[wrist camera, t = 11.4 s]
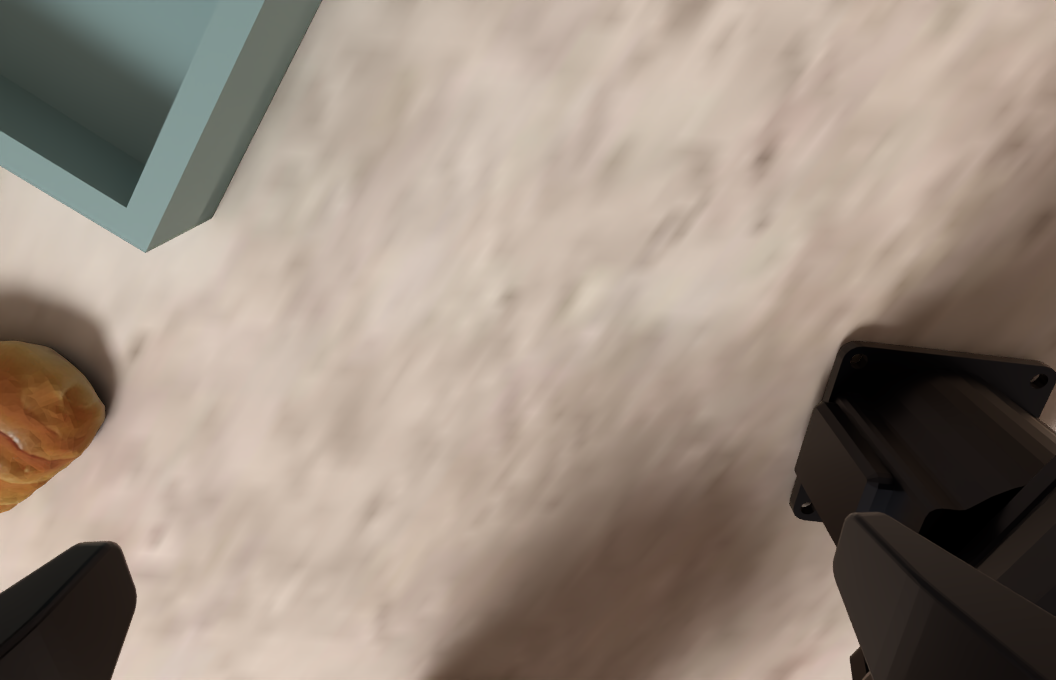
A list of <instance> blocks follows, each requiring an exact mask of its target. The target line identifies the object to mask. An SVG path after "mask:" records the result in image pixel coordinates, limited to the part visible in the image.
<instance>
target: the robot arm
mask: <svg viewBox="0 0 1056 680" xmlns="http://www.w3.org/2000/svg"><path fill="white" fill-rule="evenodd" d="M856 354H862V357H861V359H860V360H859V361H857V362H856V363H850V360H851V359H852V357H853V356H855V355H856ZM1038 374H1039V377H1038V378H1037V379H1036V380H1035V381H1033V382H1031V379H1032V378H1033V377H1034V376H1036V375H1038ZM1055 383H1056V372H1055V371H1054V370H1053V369H1052V368H1050V367H1049V366H1047V365H1046V364H1044V363H1043V362H1040V361H1035V360H1026V359H1017V358H1008V357H999V356H990V355H981V354H972V353H963V352H954V351H945V350H936V349H927V348H918V347H909V346H900V345H891V344H882V343H873V342H864V341H851V342H849V343H847V344H845V345H844V346H843V347H841V348H840V350H839V352H838V354H837V356H836V359H835V362H834V366H833V369H832V372H831V375H830V378H829V381H828V384H827V387H826V390H825V393H824V396H823V399H822V402H820V403H819V404H818V405H817V406H816V407H814V410H813V413H812V416H811V419H810V422H809V425H808V428H807V432H806V435H805V438H804V441H803V444H802V447H801V450H800V453H799V456H798V459H797V463H796V466H795V473H796V475H797V479H796V482H795V485H794V488H793V491H792V494H791V497H790V503H789V504H790V506H791V508H792V510H793V512H794V514H795V516H796V517H798V518H799V519H802V520H808V521H817V522H823V523H824V525H825V527H826V529H827V531H828V532H829V534H830V536H831V538H832V540H833V541H834V543H835V545H836V547H837V548H836V552H835V556H834V560H833V573H834V577H835V581H836V583H837V586H838V589H839V591H840V594H841V597H842V599H843V602H844V605H845V607H846V610H847V613H848V615H849V618H850V621H851V623H852V626H853V628H854V631H855V634H856V636H857V639H858V642H859V644H860V647H859V648H858V649H857V650H856V651H855V652H854V653H853V654H852V655H851V656H850V664H851V672H852V679H853V680H1056V432H1055V431H1053V430H1052V429H1051V428H1050V427H1048V426H1047V425H1046V424H1045V423H1043V422H1042V421H1041V420H1039V419H1038V418H1039V416H1040V414H1041V412H1042V410H1043V408H1044V406H1045V404H1046V402H1047V400H1048V398H1049V396H1050V394H1051V392H1052V390H1053V387H1054V385H1055ZM806 502H811V504H810V505H808V506H806V507H801V506H802V505H803V504H804V503H806ZM136 601H137V594H136V588H135V585H134V582H133V580H132V577H131V574H130V571H129V568H128V566H127V563H126V560H125V557H124V554H123V552H122V549H121V547H120V546H119V545H118V544H117V543H115V542H111V541H100V542H83V543H78V544H76V545H74V546H72V547H71V548H69V549H68V550H66V551H65V552H63V553H61V554H60V555H58V556H57V557H55V558H54V559H52V560H51V561H49V562H48V563H46V564H45V565H43V566H42V567H40V568H38V569H37V570H35V571H34V572H32V573H31V574H29V575H28V576H26V577H25V578H23V579H22V580H20V581H19V582H17V583H16V584H14V585H12V586H11V587H9V588H8V589H6V590H5V591H3V592H2V593H0V680H111V678H112V675H113V672H114V669H115V666H116V664H117V661H118V658H119V655H120V652H121V649H122V646H123V643H124V641H125V638H126V635H127V632H128V629H129V626H130V623H131V620H132V617H133V615H134V611H135V608H136Z"/></svg>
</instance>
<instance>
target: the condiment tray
mask: <svg viewBox="0 0 1056 680" xmlns="http://www.w3.org/2000/svg"><path fill="white" fill-rule="evenodd" d="M321 1H322V0H0V166H1V167H3V168H5V169H6V170H8V171H10V172H11V173H13V174H15V175H16V176H18V177H20V178H21V179H23V180H25V181H26V182H28V183H30V184H31V185H33V186H35V187H36V188H38V189H40V190H41V191H43V192H45V193H46V194H48V195H50V196H51V197H53V198H55V199H56V200H58V201H60V202H61V203H63V204H65V205H66V206H68V207H70V208H71V209H73V210H75V211H76V212H78V213H80V214H81V215H83V216H85V217H86V218H88V219H90V220H91V221H93V222H95V223H96V224H98V225H100V226H101V227H103V228H105V229H106V230H108V231H110V232H111V233H113V234H115V235H116V236H118V237H120V238H121V239H123V240H125V241H126V242H128V243H130V244H131V245H133V246H135V247H136V248H138V249H140V250H141V251H143V252H145V253H146V252H148V251H150V250H152V249H154V248H156V247H158V246H160V245H161V244H163V243H165V242H167V241H169V240H171V239H173V238H175V237H177V236H179V235H181V234H183V233H184V232H186V231H188V230H190V229H192V228H194V227H196V226H198V225H200V224H202V223H204V222H206V221H207V220H209V219H211V218H212V217H213V215H214V213H215V211H216V209H217V207H218V205H219V203H220V201H221V199H222V197H223V195H224V193H225V191H226V189H227V187H228V185H229V183H230V181H231V179H232V177H233V175H234V173H235V171H236V169H237V167H238V165H239V163H240V161H241V159H242V157H243V155H244V153H245V151H246V149H247V147H248V145H249V143H250V141H251V139H252V137H253V136H254V134H255V132H256V130H257V128H258V126H259V124H260V122H261V120H262V118H263V116H264V114H265V112H266V110H267V108H268V106H269V104H270V102H271V100H272V98H273V96H274V94H275V92H276V90H277V88H278V86H279V84H280V82H281V80H282V78H283V76H284V74H285V72H286V70H287V68H288V66H289V64H290V62H291V60H292V58H293V56H294V54H295V52H296V50H297V48H298V47H299V45H300V43H301V41H302V39H303V37H304V35H305V33H306V31H307V29H308V27H309V25H310V23H311V21H312V19H313V17H314V15H315V13H316V11H317V9H318V7H319V5H320V3H321Z"/></svg>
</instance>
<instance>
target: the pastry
mask: <svg viewBox="0 0 1056 680" xmlns="http://www.w3.org/2000/svg"><path fill="white" fill-rule="evenodd" d="M104 419H105V406H104V404H103V403H102V402H101V401H100V399H99V398H98V396H97V394H96V393H95V391H94V389H93V387H92V386H91V384H90V383H89V381H88V380H87V379H86V377H85V376H84V375H83V374H82V373H81V372H80V371H79V370H78V369H77V368H76V367H75V366H73V365H72V364H71V363H70V362H69V361H68V360H66V359H65V358H64V357H63V356H61V355H60V354H59V353H57V352H56V351H55V350H53V349H51V348H49V347H47V346H42V345H37V344H30V343H25V342H21V341H0V513H2V512H5V511H8V510H10V509H12V508H13V507H14V506H16V505H17V504H18V503H20V502H22V501H23V500H25V499H26V498H28V497H29V496H30V495H31V494H32V493H33V492H34V491H35V490H36V489H38V488H40V487H41V486H43V485H44V484H45V483H46V482H48V481H49V480H50V479H51V478H52V477H53V476H54V475H56V474H57V473H58V472H59V471H61V470H63V469H64V468H66V467H67V466H68V465H69V464H70V463H71V462H72V461H73V460H75V459H76V458H77V457H79V456H80V455H81V454H82V453H83V451H84V450H85V449H86V448H87V447H88V446H89V445H90V443H91V442H92V440H93V438H94V436H95V435H96V433H97V431H98V429H99V428H100V426H101V425H102V423H103V422H104Z"/></svg>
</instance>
